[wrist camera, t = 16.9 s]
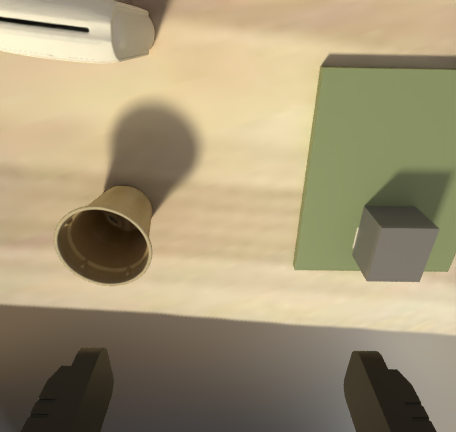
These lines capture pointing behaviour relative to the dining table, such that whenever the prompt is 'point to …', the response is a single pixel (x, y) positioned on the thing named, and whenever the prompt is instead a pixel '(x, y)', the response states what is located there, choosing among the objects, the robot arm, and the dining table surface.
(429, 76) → the board
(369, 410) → the robot arm
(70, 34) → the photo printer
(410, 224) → the block
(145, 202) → the flower pot
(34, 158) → the dining table surface
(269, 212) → the dining table surface
